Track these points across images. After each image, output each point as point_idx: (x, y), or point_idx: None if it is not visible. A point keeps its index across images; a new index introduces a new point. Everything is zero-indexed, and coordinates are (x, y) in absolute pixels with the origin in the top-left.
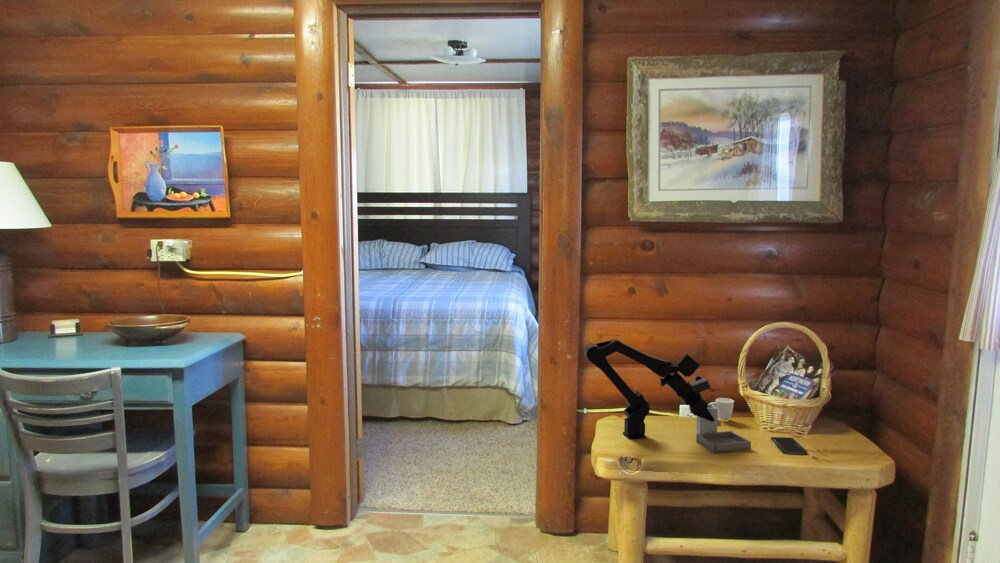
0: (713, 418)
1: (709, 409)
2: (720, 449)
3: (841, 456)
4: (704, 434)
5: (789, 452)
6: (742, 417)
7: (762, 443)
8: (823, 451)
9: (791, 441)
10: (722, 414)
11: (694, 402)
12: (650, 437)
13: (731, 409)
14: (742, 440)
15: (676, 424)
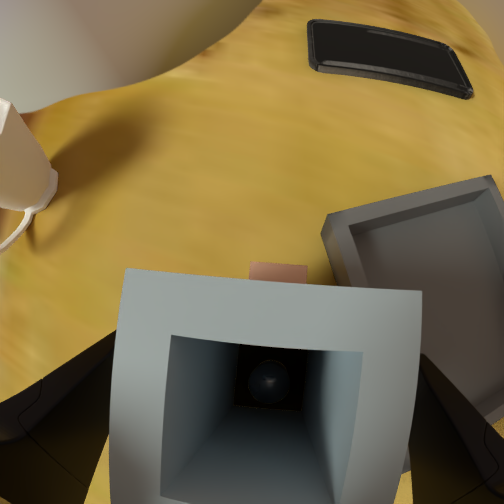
0: (436, 368)
1: (405, 426)
2: None
3: (426, 7)
4: None
5: (470, 84)
6: (37, 120)
7: (375, 112)
8: (403, 13)
9: (348, 31)
10: (28, 187)
11: None
12: None
13: (29, 131)
14: (452, 200)
15: None
